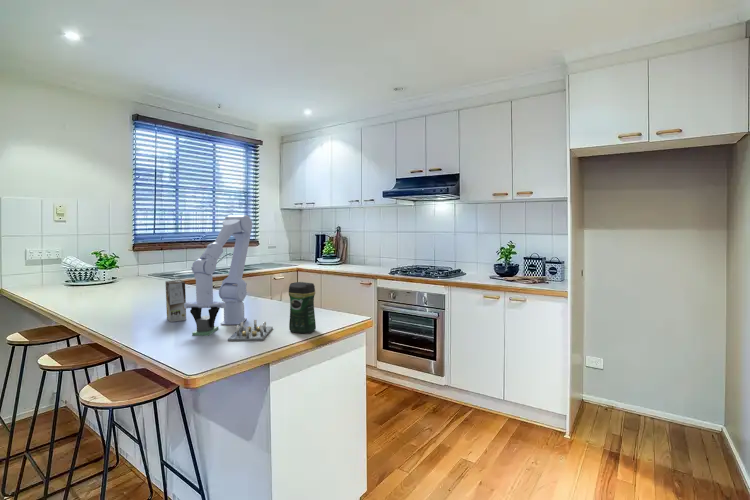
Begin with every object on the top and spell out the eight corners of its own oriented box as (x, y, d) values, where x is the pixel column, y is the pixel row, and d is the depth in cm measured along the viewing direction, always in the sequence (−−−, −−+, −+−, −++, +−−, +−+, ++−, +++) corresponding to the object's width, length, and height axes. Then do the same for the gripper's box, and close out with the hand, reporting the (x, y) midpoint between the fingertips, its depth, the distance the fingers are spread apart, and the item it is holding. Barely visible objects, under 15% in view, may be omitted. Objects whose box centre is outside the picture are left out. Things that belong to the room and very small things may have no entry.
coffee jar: (319, 330, 154) (318, 281, 153) (306, 335, 147) (306, 284, 146) (298, 327, 158) (298, 280, 157) (285, 332, 151) (284, 282, 150)
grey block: (202, 328, 156) (202, 314, 155) (218, 328, 156) (218, 314, 155) (192, 335, 147) (191, 320, 146) (208, 335, 147) (208, 320, 146)
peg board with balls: (241, 328, 156) (241, 318, 155) (272, 328, 156) (272, 318, 156) (228, 341, 140) (227, 329, 139) (263, 340, 140) (262, 329, 140)
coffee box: (187, 320, 169) (185, 282, 168) (170, 322, 166) (168, 283, 165) (182, 316, 177) (181, 279, 176) (166, 318, 173) (164, 281, 172)
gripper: (179, 293, 146) (181, 330, 147) (220, 292, 146) (221, 329, 147) (188, 289, 153) (189, 325, 154) (226, 289, 153) (227, 324, 154)
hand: (205, 327), depth 151 cm, fingers closed on grey block, 4 cm apart
